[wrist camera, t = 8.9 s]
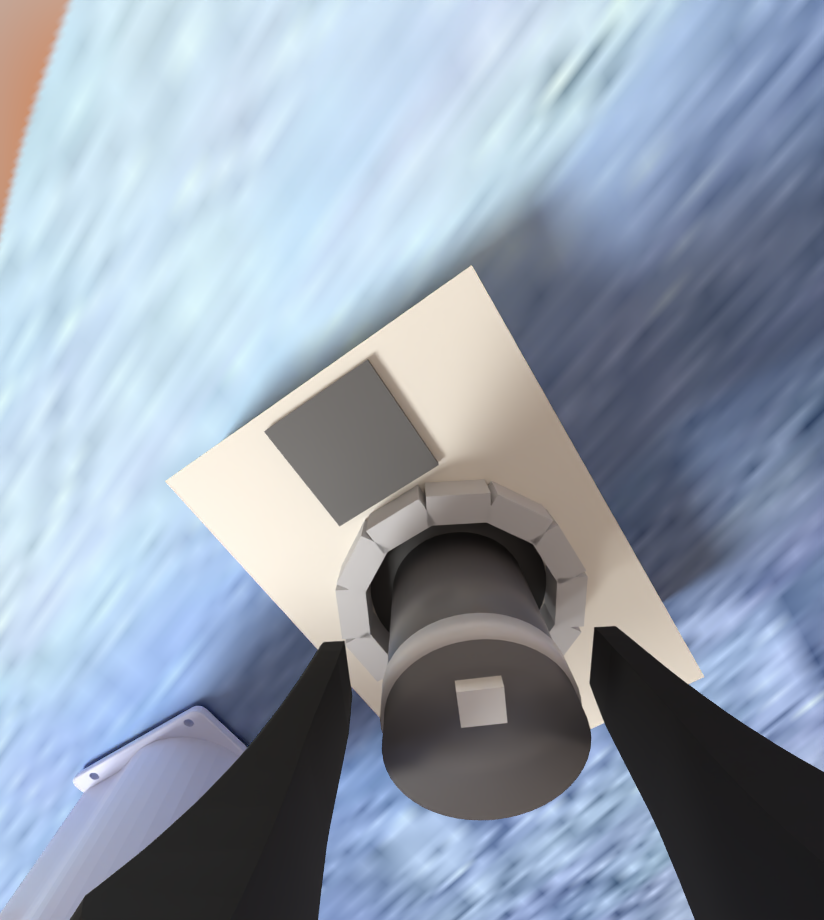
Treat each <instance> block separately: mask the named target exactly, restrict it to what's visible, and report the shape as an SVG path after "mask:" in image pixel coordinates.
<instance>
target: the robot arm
mask: <svg viewBox="0 0 824 920" xmlns="http://www.w3.org/2000/svg"><path fill="white" fill-rule="evenodd" d="M589 684H590V687H591V689H592V692H593V695H594V698H595V700H596V703H597V706H598V708H599V711H600V713H601V716H602V718H603V721H604V723H605V725H606V727H607V729H608V731H609V733H610V735H611V737H612V739H613V741H614V743H615V745H616V747H617V749H618V751H619V753H620V755H621V757H622V759H623V761H624V763H625V765H626V767H627V768H628V770H629V772H630V774H631V776H632V778H633V780H634V782H635V784H636V786H637V788H638V790H639V792H640V794H641V796H642V798H643V800H644V802H645V804H646V805H647V807H648V809H649V811H650V814H651V816H652V818H653V820H654V822H655V824H656V826H657V828H658V831H659V833H660V835H661V838H662V840H663V842H664V845H665V847H666V850H667V852H668V854H669V857H670V859H671V862H672V864H673V866H674V869H675V871H676V874H677V876H678V878H679V881H680V883H681V886H682V888H683V891H684V893H685V896H686V898H687V901H688V904H689V906H690V909H691V911H692V914H693V916H694V919H695V920H824V772H823V771H821V770H819V769H817V768H816V767H814V766H812V765H810V764H809V763H807V762H805V761H803V760H802V759H800V758H798V757H796V756H795V755H793V754H791V753H790V752H788V751H786V750H785V749H783V748H781V747H780V746H778V745H776V744H775V743H773V742H771V741H770V740H768V739H767V738H765V737H764V736H762V735H760V734H759V733H757V732H756V731H754V730H753V729H751V728H749V727H748V726H746V725H745V724H743V723H742V722H740V721H739V720H737V719H736V718H734V717H733V716H731V715H730V714H728V713H727V712H726V711H724V710H723V709H721V708H720V707H719V706H717V705H716V704H714V703H713V702H712V701H710V700H709V699H707V698H706V697H705V696H703V695H702V694H701V693H699V692H698V691H697V690H695V689H694V688H693V687H691V686H690V685H689V684H687V683H686V682H685V681H683V680H682V679H681V678H679V677H678V676H677V675H676V674H674V673H673V672H672V671H671V670H669V669H668V668H667V667H665V666H664V665H663V664H662V663H661V662H659V661H658V660H657V659H656V658H654V657H653V656H652V655H651V654H649V653H648V652H647V651H646V650H645V649H643V648H642V647H641V646H640V645H638V644H637V643H636V642H635V641H634V640H632V639H631V638H630V637H629V636H628V635H626V634H625V633H624V632H623V631H621V630H620V629H619V628H618V627H616V626H606V627H594V635H593V646H592V658H591V669H590V681H589ZM351 703H352V691H351V684H350V676H349V669H348V662H347V654H346V647H345V641H331V642H323V643H322V644H321V645H320V647H319V649H318V650H317V652H316V653H315V655H314V657H313V658H312V660H311V662H310V663H309V665H308V666H307V668H306V669H305V671H304V672H303V674H302V676H301V677H300V679H299V680H298V682H297V683H296V684H295V686H294V687H293V689H292V690H291V692H290V693H289V694H288V696H287V697H286V699H285V700H284V702H283V703H282V704H281V706H280V707H279V708H278V710H277V711H276V712H275V714H274V715H273V716H272V718H271V719H270V720H269V721H268V723H267V724H266V725H265V727H264V728H263V729H262V731H261V732H260V733H259V734H258V736H257V737H256V738H255V739H254V740H253V742H252V743H251V744H250V745H249V746H248V747H246V746H245V745H244V744H243V743H242V742H241V741H240V740H239V739H238V738H237V737H236V736H235V735H234V734H232V733H231V732H230V731H229V730H228V729H227V728H226V727H225V726H224V725H223V724H222V723H221V722H220V721H219V720H217V719H216V718H215V717H214V716H213V715H212V714H211V713H210V712H209V711H208V710H207V709H206V708H204V707H202V706H194V707H192V708H190V709H188V710H186V711H185V712H183V713H181V714H179V715H178V716H176V717H174V718H172V719H171V720H169V721H167V722H165V723H164V724H162V725H160V726H158V727H157V728H155V729H153V730H151V731H150V732H148V733H146V734H144V735H143V736H141V737H139V738H137V739H136V740H134V741H132V742H130V743H129V744H127V745H125V746H123V747H122V748H120V749H118V750H116V751H115V752H113V753H111V754H109V755H108V756H106V757H104V758H102V759H101V760H99V761H97V762H95V763H94V764H92V765H90V766H88V767H87V768H85V769H83V770H81V771H80V772H79V773H78V774H77V775H76V776H75V778H74V779H73V783H74V785H75V786H76V787H77V788H78V789H80V790H81V791H82V792H84V793H83V795H82V796H81V798H80V799H79V800H78V802H77V803H76V805H75V806H74V808H73V809H72V811H71V812H70V813H69V815H68V816H67V818H66V819H65V821H64V822H63V824H62V825H61V826H60V828H59V829H58V831H57V832H56V834H55V835H54V837H53V838H52V839H51V841H50V842H49V844H48V845H47V847H46V848H45V849H44V851H43V852H42V854H41V855H40V857H39V858H38V860H37V861H36V862H35V864H34V865H33V867H32V868H31V870H30V871H29V873H28V874H27V875H26V877H25V878H24V880H23V881H22V883H21V884H20V886H19V887H18V888H17V890H16V891H15V893H14V894H13V896H12V897H11V898H10V900H9V901H8V903H7V904H6V906H5V907H4V909H3V910H2V911H1V913H0V920H318V914H319V905H320V896H321V888H322V880H323V872H324V863H325V855H326V847H327V841H328V835H329V829H330V824H331V819H332V814H333V809H334V804H335V799H336V794H337V789H338V784H339V779H340V774H341V769H342V764H343V759H344V754H345V749H346V744H347V739H348V734H349V724H350V714H351Z"/></svg>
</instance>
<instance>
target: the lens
mask: <svg viewBox="0 0 824 920" xmlns="http://www.w3.org/2000/svg"><path fill="white" fill-rule="evenodd" d="M380 722H381V729H382V733H383V739H382V754H383V761H384V764H385V767H386V770H387V772H388V774H389V776H390V778H391V779H392V781H393V782H394V783H395V785H396V786H397V787H398V788H399V789H400V790H401V791H402V792H403V793H404V794H405V795H406V796H407V797H408V798H410V799H411V800H412V801H414V802H415V803H417V804H419V805H420V806H422V807H424V808H426V809H428V810H431V811H433V812H436V813H439V814H442V815H445V816H449V817H454V818H459V819H467V820H495V819H502V818H508V817H512V816H517V815H520V814H523V813H526V812H529V811H532V810H534V809H537V808H539V807H541V806H543V805H545V804H547V803H548V802H550V801H552V800H553V799H555V798H556V797H558V796H559V795H560V794H562V793H563V792H564V791H565V790H566V789H567V788H568V787H569V786H571V784H572V783H573V782H574V781H575V780H576V779H577V777H578V776H579V774H580V773H581V771H582V770H583V768H584V766H585V764H586V761H587V759H588V756H589V752H590V748H591V731H590V726H589V722H588V719H587V716H586V714H585V712H584V709H583V707H582V701H581V695H580V692H579V688H578V686H577V683H576V681H575V679H574V677H573V675H572V673H571V670H570V668H569V666H568V664H567V662H566V660H565V657H564V655H563V653H562V652H561V650H560V649H559V647H558V646H557V645H556V643H555V642H554V641H553V640H552V637H551V635H550V633H549V631H548V628H547V626H546V624H545V622H544V619H543V617H542V615H541V613H540V610H539V608H538V606H537V604H536V601H535V599H534V597H533V595H532V592H531V590H530V588H529V586H528V583H527V581H526V579H525V577H524V574H523V572H522V570H521V568H520V566H519V564H518V562H517V560H516V559H515V557H514V556H513V555H512V553H511V552H510V551H509V550H508V549H507V548H505V547H504V546H503V545H502V544H500V543H498V542H497V541H495V540H493V539H491V538H489V537H486V536H483V535H480V534H475V533H470V532H453V533H446V534H442V535H438V536H435V537H432V538H430V539H428V540H426V541H424V542H422V543H421V544H419V545H418V546H416V547H415V548H414V549H413V550H411V551H410V552H409V553H408V554H407V555H406V557H405V558H404V559H403V561H402V562H401V564H400V565H399V567H398V569H397V572H396V574H395V577H394V582H393V593H392V607H391V622H390V637H389V651H388V665H387V668H386V671H385V673H384V678H383V683H382V696H381V709H380Z"/></svg>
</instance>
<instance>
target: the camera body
mask: <svg viewBox="0 0 824 920" xmlns="http://www.w3.org/2000/svg"><path fill="white" fill-rule="evenodd" d="M165 482H166V483H167V484H168V485H169V486H170V487H171V488H172V490H173V491H174V492H175V493H176V494H177V495H178V496H179V497H180V498H181V499H182V501H183V502H184V503H185V504H186V505H187V506H188V507H189V508H190V509H191V510H192V512H193V513H194V514H195V515H196V516H197V517H198V518H199V519H200V520H201V522H202V523H203V524H204V525H205V526H206V527H207V528H208V529H209V530H210V531H211V533H212V534H213V535H214V536H215V537H216V538H217V539H218V540H219V541H220V542H221V544H222V545H223V546H224V547H225V548H226V549H227V550H228V551H229V552H230V553H231V555H232V556H233V557H234V558H235V559H236V560H237V561H238V562H239V563H240V564H241V566H242V567H243V568H244V569H245V570H246V571H247V572H248V573H249V574H250V575H251V577H252V578H253V579H254V580H255V581H256V582H257V583H258V584H259V585H260V586H261V588H262V589H263V590H264V591H265V592H266V593H267V594H268V595H269V596H270V597H271V599H272V600H273V601H274V602H275V603H276V604H277V605H278V606H279V607H280V608H281V610H282V611H283V612H284V613H285V614H286V615H287V616H288V617H289V618H290V620H291V621H292V622H293V623H294V624H295V625H296V626H297V627H298V628H299V629H300V631H301V632H302V633H303V634H304V635H305V636H306V637H307V638H308V639H309V640H310V642H311V643H312V644H313V645H314V646H315V647H316V648H317V649H319V647H320V645H321V644H322V643H323V642H331V641H345V647H346V654H347V662H348V669H349V676H350V684H351V687H352V688H353V689H354V690H355V691H356V692H357V693H358V694H359V695H360V697H361V698H362V699H363V700H364V701H365V702H366V703H367V704H368V705H369V707H370V708H371V709H372V710H373V711H374V712H375V713H376V714H377V715H378V716H379V718H380V709H381V696H382V683H383V678H384V673H385V671H386V668H387V665H388V651H389V637H390V622H391V607H392V593H393V582H394V577H395V574H396V572H397V569H398V567H399V565H400V564H401V562H402V561H403V559H404V558H405V557H406V555H407V554H408V553H409V552H410V551H411V550H413V549H414V548H415V547H416V546H418V545H419V544H421V543H422V542H424V541H426V540H428V539H430V538H432V537H435V536H438V535H442V534H446V533H453V532H470V533H475V534H480V535H483V536H486V537H489V538H491V539H493V540H495V541H497V542H498V543H500V544H502V545H503V546H504V547H505V548H507V549H508V550H509V551H510V552H511V553H512V555H513V556H514V557H515V559H516V560H517V562H518V564H519V566H520V568H521V570H522V572H523V574H524V577H525V579H526V581H527V583H528V586H529V588H530V590H531V592H532V595H533V597H534V599H535V601H536V604H537V606H538V608H539V610H540V613H541V615H542V617H543V619H544V622H545V624H546V626H547V628H548V631H549V633H550V635H551V637H552V640H553V641H554V642H555V643H556V645H557V646H558V647H559V649H560V650H561V652H562V653H563V655H564V657H565V660H566V662H567V664H568V666H569V668H570V670H571V673H572V675H573V677H574V679H575V681H576V683H577V686H578V688H579V692H580V695H581V701H582V707H583V709H584V712H585V714H586V716H587V719H588V722H589V726H590V729H592V728H594V727H596V726H598V725H601V724H603V723H604V721H603V718H602V716H601V713H600V711H599V708H598V706H597V703H596V700H595V698H594V695H593V692H592V689H591V687H590V684H589V681H590V669H591V658H592V646H593V635H594V627H606V626H616V627H618V628H619V629H620V630H621V631H623V632H624V633H625V634H626V635H628V636H629V637H630V638H631V639H632V640H634V641H635V642H636V643H637V644H638V645H640V646H641V647H642V648H643V649H645V650H646V651H647V652H648V653H649V654H651V655H652V656H653V657H654V658H656V659H657V660H658V661H659V662H661V663H662V664H663V665H664V666H665V667H667V668H668V669H669V670H671V671H672V672H673V673H674V674H676V675H677V676H678V677H679V678H681V679H682V680H683V681H685V682H686V683H687V684H690V683H692V682H694V681H696V680H699V679H701V678H703V677H704V675H703V674H702V672H701V670H700V668H699V667H698V665H697V663H696V661H695V659H694V658H693V656H692V654H691V652H690V651H689V649H688V647H687V645H686V644H685V642H684V640H683V638H682V636H681V635H680V633H679V631H678V629H677V628H676V626H675V624H674V622H673V621H672V619H671V617H670V615H669V613H668V612H667V610H666V608H665V606H664V605H663V603H662V601H661V599H660V597H659V596H658V594H657V592H656V590H655V589H654V587H653V585H652V583H651V582H650V580H649V578H648V576H647V574H646V573H645V571H644V569H643V567H642V566H641V564H640V562H639V560H638V559H637V557H636V555H635V553H634V551H633V550H632V548H631V546H630V544H629V543H628V541H627V539H626V537H625V536H624V534H623V532H622V530H621V528H620V527H619V525H618V523H617V521H616V520H615V518H614V516H613V514H612V513H611V511H610V509H609V507H608V505H607V504H606V502H605V500H604V498H603V497H602V495H601V493H600V491H599V489H598V488H597V486H596V484H595V482H594V481H593V479H592V477H591V475H590V474H589V472H588V470H587V468H586V466H585V465H584V463H583V461H582V459H581V458H580V456H579V454H578V452H577V451H576V449H575V447H574V445H573V443H572V442H571V440H570V438H569V436H568V435H567V433H566V431H565V429H564V428H563V426H562V424H561V422H560V420H559V419H558V417H557V415H556V413H555V412H554V410H553V408H552V406H551V405H550V403H549V401H548V399H547V397H546V396H545V394H544V392H543V390H542V389H541V387H540V385H539V383H538V381H537V380H536V378H535V376H534V374H533V373H532V371H531V369H530V367H529V366H528V364H527V362H526V360H525V358H524V357H523V355H522V353H521V351H520V350H519V348H518V346H517V344H516V343H515V341H514V339H513V337H512V335H511V334H510V332H509V330H508V328H507V327H506V325H505V323H504V321H503V320H502V318H501V316H500V314H499V312H498V311H497V309H496V307H495V305H494V304H493V302H492V300H491V298H490V297H489V295H488V293H487V291H486V289H485V288H484V286H483V284H482V282H481V281H480V279H479V277H478V275H477V274H476V272H475V270H474V268H473V266H472V265H471V266H470V267H468V268H467V269H465V270H464V271H463V272H461V273H460V274H458V275H457V276H456V277H454V278H453V279H451V280H450V281H448V282H447V283H446V284H444V285H443V286H441V287H440V288H439V289H437V290H436V291H434V292H433V293H431V294H430V295H429V296H427V297H426V298H424V299H423V300H422V301H420V302H419V303H417V304H416V305H414V306H413V307H412V308H410V309H409V310H407V311H406V312H404V313H403V314H402V315H400V316H399V317H397V318H396V319H395V320H393V321H392V322H390V323H389V324H387V325H386V326H385V327H383V328H382V329H380V330H379V331H378V332H376V333H375V334H373V335H372V336H370V337H369V338H368V339H366V340H365V341H363V342H362V343H361V344H359V345H358V346H356V347H355V348H353V349H352V350H351V351H349V352H348V353H346V354H345V355H343V356H342V357H341V358H339V359H338V360H336V361H335V362H334V363H332V364H331V365H329V366H328V367H326V368H325V369H324V370H322V371H321V372H319V373H318V374H317V375H315V376H314V377H312V378H311V379H309V380H308V381H307V382H305V383H304V384H302V385H301V386H300V387H298V388H297V389H295V390H294V391H292V392H291V393H290V394H288V395H287V396H285V397H284V398H282V399H281V400H280V401H278V402H277V403H275V404H274V405H273V406H271V407H270V408H268V409H267V410H265V411H264V412H263V413H261V414H260V415H258V416H257V417H256V418H254V419H253V420H251V421H250V422H248V423H247V424H246V425H244V426H243V427H241V428H240V429H239V430H237V431H236V432H234V433H233V434H231V435H230V436H229V437H227V438H226V439H224V440H223V441H221V442H220V443H219V444H217V445H216V446H214V447H213V448H212V449H210V450H209V451H207V452H206V453H204V454H203V455H202V456H200V457H199V458H197V459H196V460H195V461H193V462H192V463H190V464H189V465H187V466H186V467H185V468H183V469H182V470H180V471H179V472H178V473H176V474H175V475H173V476H172V477H170V478H169V479H168V480H166V481H165Z"/></svg>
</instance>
